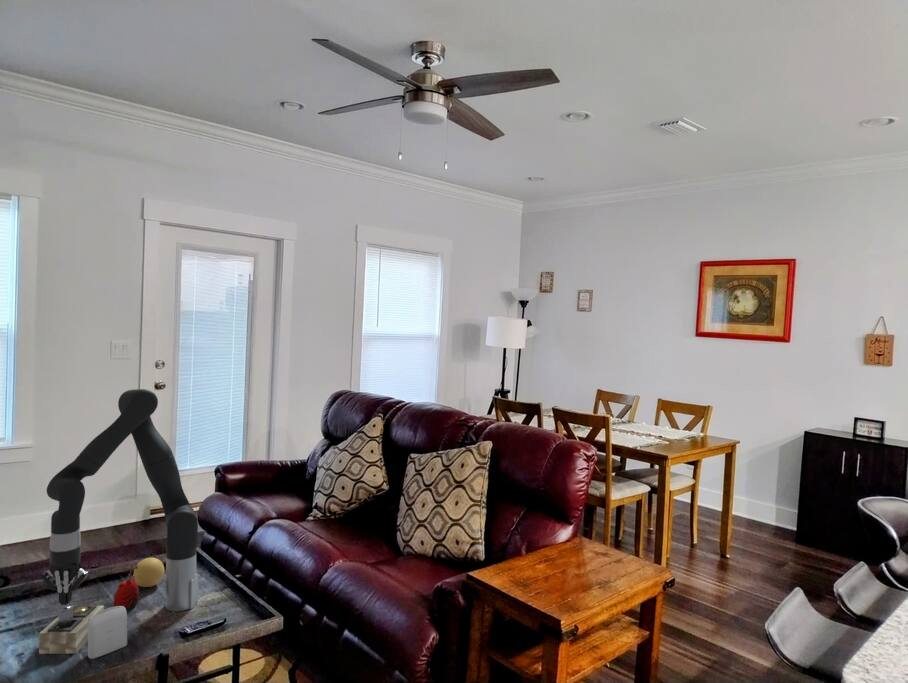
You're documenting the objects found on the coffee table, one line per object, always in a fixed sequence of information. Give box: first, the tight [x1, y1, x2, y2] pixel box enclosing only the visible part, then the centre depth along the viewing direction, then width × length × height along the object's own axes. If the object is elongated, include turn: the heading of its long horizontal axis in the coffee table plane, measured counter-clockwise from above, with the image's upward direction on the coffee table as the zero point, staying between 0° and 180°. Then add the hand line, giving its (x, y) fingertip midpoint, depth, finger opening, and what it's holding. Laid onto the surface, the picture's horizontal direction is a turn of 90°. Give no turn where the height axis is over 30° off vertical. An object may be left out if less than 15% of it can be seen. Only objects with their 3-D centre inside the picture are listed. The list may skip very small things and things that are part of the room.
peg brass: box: [73, 606, 87, 614], centre depth 184 cm, size 4×4×6 cm
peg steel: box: [57, 603, 74, 628], centre depth 176 cm, size 4×4×6 cm
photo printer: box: [87, 606, 128, 660], centre depth 174 cm, size 10×4×12 cm, turn 140°
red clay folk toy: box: [112, 563, 140, 611], centre depth 199 cm, size 8×7×15 cm
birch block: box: [38, 604, 105, 655], centre depth 180 cm, size 10×16×7 cm, turn 5°
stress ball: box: [132, 557, 165, 588], centre depth 214 cm, size 10×10×10 cm
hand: (65, 603), depth 175 cm, fingers closed
